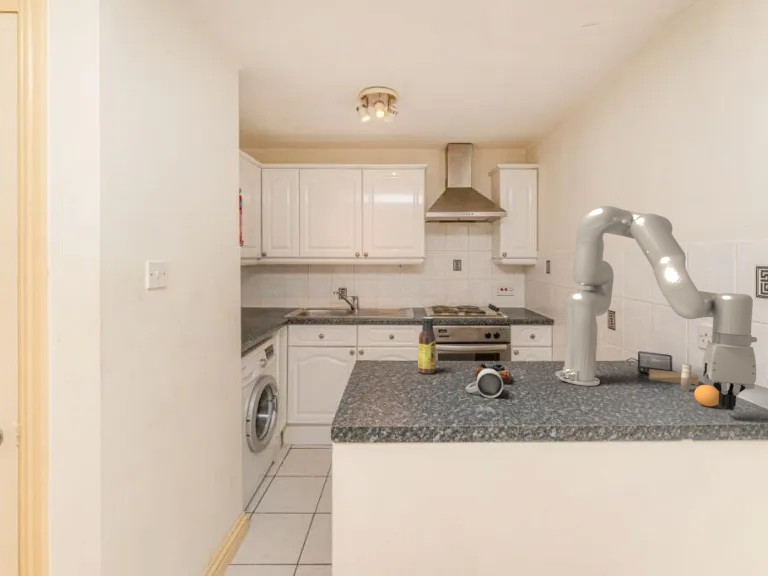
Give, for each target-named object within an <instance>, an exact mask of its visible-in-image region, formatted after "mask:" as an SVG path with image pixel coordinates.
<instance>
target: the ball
mask: <svg viewBox="0 0 768 576" xmlns="http://www.w3.org/2000/svg"><path fill="white" fill-rule="evenodd" d="M693 395H694V399H696V401H697V403H699V404H700V405H702V406H706V407H715V406H717V405H720V404H719V391H717V389H716V388H715V387H713V386H710V385H707V384H702V385H698V387H696V389H695V390H694V394H693Z"/></svg>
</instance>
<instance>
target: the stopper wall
mask: <svg viewBox="0 0 768 576" xmlns="http://www.w3.org/2000/svg"><path fill="white" fill-rule="evenodd" d="M681 373H682V371H670V370H661V369H652V368H651V369H650V368H649V370H648V380H650V381H654V382H664V383H674V384H681ZM699 377H700V375H699V374H697V373H692V372H691V378H690V385H691V384H695V385H694V386H699Z"/></svg>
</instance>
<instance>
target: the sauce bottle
mask: <svg viewBox="0 0 768 576" xmlns="http://www.w3.org/2000/svg"><path fill="white" fill-rule="evenodd" d="M434 318H435V317H431V316H424V317H422V319H421V321H422V328H421V332H420V333H419V336H418V346H417V347H418V349H417V371H418V373H421V374H424V375H425V374H426V375H429V374H430V375H431V374H434V373H435V368H436V352H437V351H436V350H437V348H436V347H437V339H436V335H435V332H434V321H435V320H434Z"/></svg>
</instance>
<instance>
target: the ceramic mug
mask: <svg viewBox="0 0 768 576" xmlns="http://www.w3.org/2000/svg"><path fill="white" fill-rule="evenodd" d="M465 389H466V392H467V393H469V394H471V393H476V392H478V393H479V394H480V395H481V396H483V397H484V398H487V399H489V398H490V399H494V398H497V397H498V396H500V395H501V393H502V392H503V391H504V384H503V381H502V378H501V376H500V375H499V373H498V372H497V371H495V370H493V369H484V370H482V371H481V372H480V373H479V374H478V377H477V379H476V381H474V382H471V383H469V384H467V385H466V387H465Z"/></svg>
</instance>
